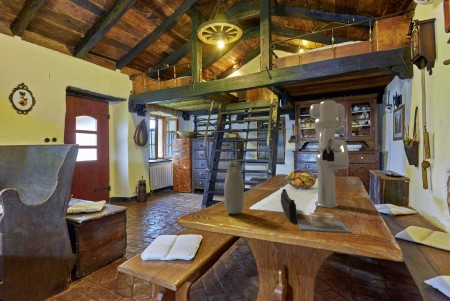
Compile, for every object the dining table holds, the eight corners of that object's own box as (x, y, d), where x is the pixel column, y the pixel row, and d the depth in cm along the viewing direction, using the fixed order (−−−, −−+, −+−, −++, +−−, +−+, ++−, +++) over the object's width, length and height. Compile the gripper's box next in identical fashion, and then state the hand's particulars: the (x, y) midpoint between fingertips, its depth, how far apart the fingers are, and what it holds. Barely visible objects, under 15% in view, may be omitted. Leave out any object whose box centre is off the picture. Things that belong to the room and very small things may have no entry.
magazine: (298, 205, 106) (287, 177, 134) (290, 205, 106) (281, 177, 134) (296, 237, 111) (286, 204, 139) (289, 237, 111) (280, 204, 140)
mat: (296, 220, 113) (296, 219, 113) (340, 222, 109) (341, 221, 109) (299, 230, 100) (299, 228, 100) (350, 232, 96) (350, 231, 96)
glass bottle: (222, 215, 123) (221, 161, 122) (229, 210, 132) (229, 160, 131) (239, 217, 119) (239, 162, 118) (246, 212, 128) (246, 160, 127)
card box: (331, 223, 106) (331, 213, 106) (333, 227, 101) (333, 216, 101) (309, 222, 108) (309, 212, 108) (311, 226, 103) (311, 215, 103)
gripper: (316, 127, 125) (316, 159, 125) (323, 124, 108) (324, 162, 108) (331, 127, 124) (331, 159, 124) (341, 124, 107) (341, 162, 107)
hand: (327, 160), depth 116 cm, fingers open, 9 cm apart
